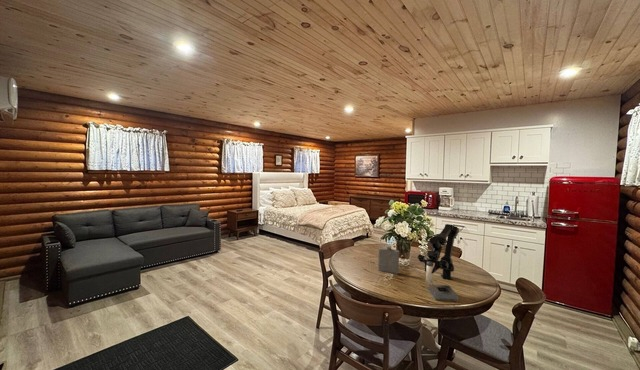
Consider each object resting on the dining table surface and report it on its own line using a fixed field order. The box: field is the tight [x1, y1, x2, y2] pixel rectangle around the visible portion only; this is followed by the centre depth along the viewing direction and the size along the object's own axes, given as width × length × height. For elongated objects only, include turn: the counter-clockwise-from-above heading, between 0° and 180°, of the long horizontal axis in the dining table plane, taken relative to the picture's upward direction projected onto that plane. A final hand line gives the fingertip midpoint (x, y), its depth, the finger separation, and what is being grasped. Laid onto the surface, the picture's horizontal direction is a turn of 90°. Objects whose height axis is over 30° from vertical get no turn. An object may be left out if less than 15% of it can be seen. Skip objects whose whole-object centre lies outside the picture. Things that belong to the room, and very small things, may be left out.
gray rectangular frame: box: [428, 284, 459, 302], centre depth 170 cm, size 13×13×4 cm
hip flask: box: [377, 245, 400, 275], centre depth 208 cm, size 16×4×20 cm, turn 65°
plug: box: [425, 261, 434, 284], centre depth 174 cm, size 4×4×13 cm
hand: (428, 272), depth 173 cm, fingers closed on plug, 4 cm apart
